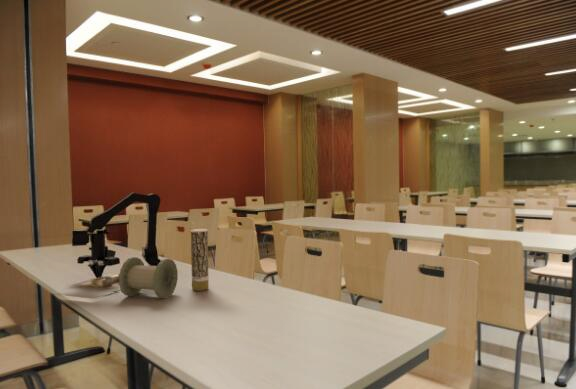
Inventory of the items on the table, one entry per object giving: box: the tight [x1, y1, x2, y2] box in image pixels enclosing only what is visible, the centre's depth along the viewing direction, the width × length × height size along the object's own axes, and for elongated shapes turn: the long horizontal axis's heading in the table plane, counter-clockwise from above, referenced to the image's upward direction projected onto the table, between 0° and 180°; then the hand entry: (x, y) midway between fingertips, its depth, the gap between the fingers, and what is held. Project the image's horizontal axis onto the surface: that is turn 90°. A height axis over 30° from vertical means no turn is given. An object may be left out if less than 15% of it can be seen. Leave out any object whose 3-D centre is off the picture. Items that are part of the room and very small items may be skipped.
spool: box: [118, 256, 179, 300], centre depth 169 cm, size 16×15×15 cm
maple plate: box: [91, 273, 119, 286], centre depth 186 cm, size 6×11×2 cm, turn 160°
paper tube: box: [190, 228, 210, 292], centre depth 179 cm, size 7×7×25 cm
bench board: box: [71, 272, 120, 289], centre depth 187 cm, size 20×15×5 cm
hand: (99, 279), depth 188 cm, fingers closed
